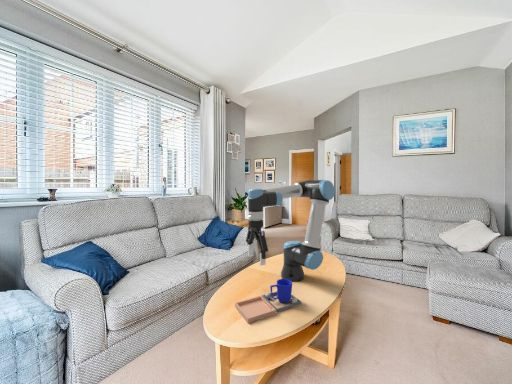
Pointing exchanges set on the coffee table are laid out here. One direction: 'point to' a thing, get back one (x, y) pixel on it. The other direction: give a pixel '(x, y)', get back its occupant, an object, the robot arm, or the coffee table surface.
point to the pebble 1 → (267, 295)
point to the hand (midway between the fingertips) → (256, 260)
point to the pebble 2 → (294, 300)
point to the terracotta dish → (255, 309)
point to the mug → (283, 290)
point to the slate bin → (283, 306)
